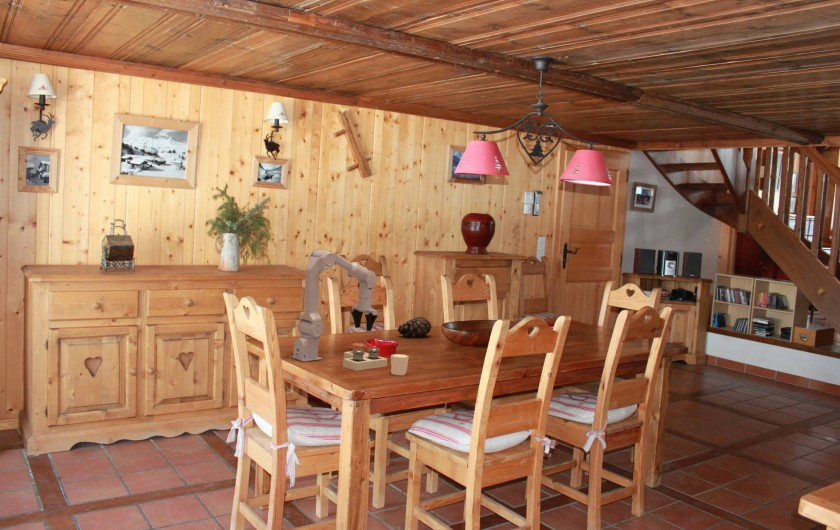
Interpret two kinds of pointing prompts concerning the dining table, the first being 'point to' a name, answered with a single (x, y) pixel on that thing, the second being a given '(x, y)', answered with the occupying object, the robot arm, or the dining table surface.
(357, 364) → the socket block
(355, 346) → the terracotta plug
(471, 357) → the dining table surface
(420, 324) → the pine cone
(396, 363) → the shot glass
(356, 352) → the metal plug
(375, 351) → the metal plug
